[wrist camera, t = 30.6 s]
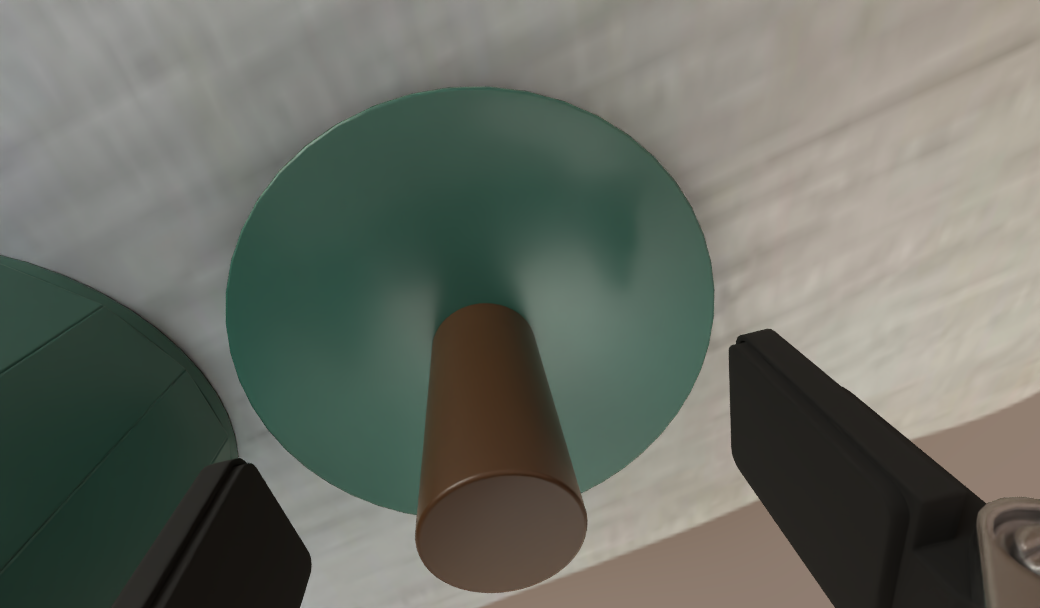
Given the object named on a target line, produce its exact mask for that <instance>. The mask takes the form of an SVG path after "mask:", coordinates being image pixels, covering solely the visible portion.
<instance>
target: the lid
mask: <svg viewBox="0 0 1040 608" xmlns="http://www.w3.org/2000/svg"><path fill="white" fill-rule="evenodd" d="M713 318H714V283H713V274H712V266H711V260H710V256H709V253H708V249H707V245H706V241H705V238H704V234H703V232H702V229H701V227H700V225H699V223H698V220H697V218H696V216H695V213H694V211H693V209H692V207H691V205H690V204H689V202H688V200H687V199H686V197H685V196H684V194H683V193H682V191H681V189H680V188H679V186H678V185H677V183H676V181H675V180H674V179H673V178H672V177H671V176H670V174H669V173H668V172H667V171H666V170H665V169H664V168H663V166H662V165H661V164H660V163H659V162H658V161H657V159H656V158H655V157H654V156H653V155H652V154H650V153H649V152H648V151H647V150H646V149H645V148H643V147H642V146H641V145H640V144H639V143H637V142H636V141H635V140H634V139H633V138H632V137H630V136H629V135H628V134H626V133H625V132H623V131H622V130H620V129H618V128H617V127H615V126H613V125H612V124H610V123H609V122H607V121H605V120H604V119H602V118H601V117H599V116H597V115H595V114H592V113H590V112H588V111H586V110H583V109H581V108H579V107H576V106H574V105H572V104H569V103H567V102H565V101H561V100H558V99H554V98H550V97H546V96H543V95H539V94H535V93H531V92H528V91H523V90H514V89H506V88H498V87H489V86H479V87H448V88H442V89H436V90H430V91H424V92H418V93H412V94H409V95H406V96H403V97H400V98H396V99H393V100H390V101H387V102H384V103H381V104H378V105H375V106H372V107H370V108H368V109H366V110H364V111H362V112H360V113H358V114H356V115H354V116H352V117H350V118H348V119H346V120H344V121H342V122H340V123H338V124H336V125H335V126H333V127H332V128H331V129H329V130H328V131H326V132H325V133H323V134H322V135H320V136H319V137H318V138H316V139H315V140H313V141H312V142H310V143H309V144H308V145H306V146H305V147H304V148H303V149H302V150H301V151H300V152H299V153H298V154H297V155H296V156H295V157H294V158H292V159H291V160H290V161H289V162H288V163H287V164H286V165H285V166H284V167H283V168H282V169H281V170H280V171H279V172H278V173H277V175H276V176H275V177H274V179H273V180H272V181H271V183H270V184H269V185H268V187H267V188H266V189H265V191H264V192H263V193H262V194H261V196H260V197H259V198H258V200H257V202H256V204H255V205H254V207H253V209H252V211H251V213H250V215H249V217H248V219H247V220H246V222H245V224H244V226H243V228H242V230H241V233H240V236H239V239H238V242H237V245H236V248H235V251H234V254H233V256H232V259H231V264H230V270H229V276H228V282H227V288H226V328H227V334H228V340H229V347H230V353H231V356H232V359H233V362H234V365H235V369H236V372H237V375H238V378H239V381H240V383H241V385H242V387H243V389H244V391H245V393H246V395H247V397H248V399H249V401H250V403H251V405H252V407H253V409H254V410H255V411H256V413H257V414H258V416H259V417H260V419H261V420H262V422H263V423H264V425H265V426H266V428H267V429H268V430H269V431H270V432H271V434H272V435H273V436H274V437H275V438H276V439H277V440H278V441H279V443H280V444H281V445H282V446H283V447H284V448H285V449H286V450H287V451H288V452H289V453H290V454H291V455H293V456H294V457H295V458H296V459H297V460H298V461H299V462H301V463H302V464H303V465H304V466H305V467H306V468H308V469H309V470H311V471H312V472H314V473H315V474H316V475H318V476H319V477H321V478H322V479H324V480H325V481H327V482H328V483H330V484H332V485H334V486H336V487H337V488H339V489H341V490H343V491H345V492H347V493H349V494H351V495H353V496H355V497H358V498H360V499H363V500H365V501H368V502H370V503H373V504H375V505H378V506H381V507H385V508H388V509H392V510H396V511H399V512H403V513H408V514H414V515H417V519H416V530H415V542H416V548H417V551H418V553H419V556H420V558H421V560H422V562H423V563H424V565H425V566H426V567H427V569H428V570H429V571H430V572H431V573H432V574H434V575H435V576H436V577H437V578H439V579H440V580H442V581H443V582H445V583H447V584H449V585H452V586H454V587H457V588H460V589H464V590H468V591H473V592H481V593H501V592H509V591H515V590H519V589H523V588H527V587H530V586H533V585H535V584H538V583H540V582H542V581H544V580H546V579H548V578H550V577H552V576H553V575H555V574H556V573H558V572H559V571H560V570H562V569H563V568H564V567H565V566H566V565H568V564H569V563H570V562H571V561H572V559H573V558H574V557H575V556H576V554H577V553H578V551H579V550H580V548H581V546H582V544H583V541H584V539H585V535H586V531H587V513H586V509H585V506H584V503H583V499H582V496H581V493H583V492H585V491H587V490H588V489H590V488H592V487H594V486H596V485H598V484H600V483H602V482H603V481H605V480H606V479H608V478H610V477H611V476H613V475H614V474H616V473H617V472H619V471H620V470H622V469H623V468H624V467H626V466H627V465H628V464H629V463H631V462H632V461H633V460H634V459H635V458H637V457H638V456H639V455H640V454H642V453H643V452H644V451H645V450H646V449H647V448H648V447H649V446H650V445H651V444H652V443H653V442H654V441H655V440H656V439H657V438H658V437H659V436H660V435H661V434H662V432H663V431H664V430H665V429H666V427H667V426H668V425H669V423H670V422H671V421H672V420H673V418H674V417H675V416H676V415H677V413H678V412H679V410H680V408H681V407H682V405H683V403H684V402H685V400H686V399H687V397H688V395H689V394H690V392H691V390H692V388H693V386H694V383H695V381H696V379H697V377H698V375H699V373H700V370H701V368H702V365H703V362H704V358H705V355H706V352H707V349H708V346H709V341H710V335H711V330H712V324H713Z"/></svg>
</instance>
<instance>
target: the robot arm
mask: <svg viewBox="0 0 1040 608" xmlns="http://www.w3.org/2000/svg"><path fill="white" fill-rule="evenodd" d="M729 380H730V416H731V449H732V455H733V458H734V461H735V463H736V465H737V467H738V469H739V470H740V472H741V473H742V475H743V476H744V477H745V479H746V480H747V482H748V483H749V485H750V486H751V487H752V489H753V490H754V492H755V493H756V495H757V496H758V498H759V499H760V500H761V502H762V503H763V505H764V506H765V507H766V509H767V510H768V512H769V513H770V515H771V516H772V518H773V519H774V521H775V522H776V523H777V525H778V526H779V528H780V529H781V531H782V532H783V534H784V535H785V536H786V538H787V539H788V541H789V542H790V544H791V545H792V546H793V548H794V549H795V551H796V552H797V553H798V555H799V556H800V558H801V559H802V561H803V562H804V564H805V565H806V567H807V568H808V569H809V571H810V572H811V574H812V575H813V577H814V578H815V580H816V581H817V582H818V584H819V585H820V587H821V588H822V590H823V591H824V592H825V594H826V595H827V597H828V598H829V599H830V601H831V603H832V604H833V605H834V607H835V608H1040V499H1033V498H1027V497H1010V498H1000V499H998V500H995V501H992V502H989V503H987V504H986V503H985V502H984V501H983V500H981V499H980V498H979V497H978V496H977V495H975V494H974V493H973V492H972V491H970V490H969V489H968V488H967V487H966V486H964V485H963V484H962V483H961V482H960V481H958V480H957V479H956V478H955V477H953V476H952V475H951V474H950V473H949V472H947V471H946V470H945V469H944V468H943V467H941V466H940V465H939V464H938V463H936V462H935V461H934V460H933V459H932V458H930V457H929V456H928V455H927V454H926V453H924V452H923V451H922V450H921V449H919V448H918V447H917V446H916V445H915V444H913V443H912V442H911V441H910V440H909V439H907V438H906V437H905V436H904V435H902V434H901V433H900V432H899V431H898V430H896V429H895V428H894V427H893V426H892V425H890V424H889V423H888V422H887V421H885V420H884V419H883V418H882V417H881V416H879V415H878V414H877V413H876V412H875V411H873V410H872V409H871V408H870V407H868V406H867V405H866V404H865V403H864V402H862V401H861V400H860V399H859V398H858V397H856V396H855V395H854V394H853V393H851V392H850V391H848V390H847V389H845V388H844V387H841V386H840V385H839V384H838V383H836V382H835V381H834V380H833V379H832V378H830V377H829V376H828V375H827V374H826V373H824V372H823V371H822V370H821V369H820V368H818V367H817V366H816V365H815V364H814V363H812V362H811V361H810V360H809V359H808V358H806V357H805V356H804V355H803V354H802V353H800V352H799V351H798V350H797V349H795V348H794V347H793V346H792V345H791V344H789V343H788V342H787V341H786V340H785V339H783V338H782V337H781V336H780V335H779V334H777V333H776V332H775V331H773V330H772V329H764V330H760V331H756V332H752V333H748V334H744V335H740V336H739V337H738V338H737V340H736V344H735V345H732V346H730V348H729ZM311 565H312V564H311V557H310V554H309V552H308V550H307V548H306V547H305V545H304V543H303V542H302V540H301V539H300V537H299V535H298V534H297V532H296V531H295V529H294V527H293V526H292V524H291V523H290V521H289V519H288V518H287V516H286V515H285V513H284V511H283V510H282V508H281V506H280V505H279V503H278V502H277V500H276V498H275V497H274V495H273V494H272V492H271V490H270V489H269V487H268V486H267V484H266V482H265V481H264V479H263V478H262V476H261V474H260V473H259V471H258V469H257V468H256V467H255V466H254V465H253V464H251V463H246V462H245V461H244V460H243V459H241V458H235V459H231V460H227V461H223V462H219V463H214V464H210V465H208V466H206V467H204V468H203V469H202V470H201V471H200V473H199V474H198V476H197V477H196V479H195V480H194V482H193V484H192V485H191V487H190V488H189V490H188V491H187V493H186V494H185V496H184V497H183V499H182V500H181V502H180V503H179V505H178V506H177V508H176V509H175V511H174V512H173V514H172V515H171V517H170V518H169V520H168V521H167V523H166V524H165V526H164V527H163V529H162V530H161V532H160V534H159V535H158V537H157V538H156V540H155V541H154V543H153V544H152V546H151V547H150V549H149V550H148V552H147V553H146V555H145V556H144V558H143V559H142V561H141V562H140V564H139V565H138V567H137V568H136V570H135V571H134V573H133V574H132V576H131V577H130V579H129V580H128V582H127V584H126V585H125V587H124V588H123V590H122V591H121V593H120V594H119V596H118V597H117V599H116V600H115V602H114V603H113V605H112V606H111V608H300V606H301V603H302V599H303V596H304V593H305V590H306V586H307V583H308V580H309V577H310V573H311Z"/></svg>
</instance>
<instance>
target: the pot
mask: <svg viewBox="0 0 1040 608" xmlns="http://www.w3.org/2000/svg"><path fill="white" fill-rule="evenodd" d="M235 458H238V452H237V446H236V440H235V435H234V432H233V429H232V426H231V423H230V420H229V418H228V415H227V413H226V411H225V409H224V407H223V405H222V403H221V401H220V399H219V398H218V396H217V394H216V392H215V391H214V389H213V388H212V387H211V385H210V384H209V382H208V381H207V380H206V378H205V377H204V375H203V374H202V373H201V371H200V370H199V369H198V368H197V367H196V366H195V365H194V364H193V362H192V361H191V360H190V359H189V358H188V357H187V356H186V355H185V354H184V353H183V352H182V350H180V349H179V348H178V347H177V346H176V345H175V344H174V343H173V342H171V341H170V340H169V339H168V338H167V337H166V336H165V335H163V334H162V333H161V332H160V331H159V330H158V329H156V328H155V327H154V326H152V325H151V324H149V323H148V322H147V321H145V320H144V319H142V318H141V317H139V316H138V315H137V314H135V313H134V312H132V311H131V310H130V309H128V308H126V307H124V306H123V305H121V304H119V303H118V302H116V301H114V300H112V299H111V298H109V297H107V296H105V295H104V294H102V293H100V292H99V291H96V290H94V289H92V288H90V287H88V286H86V285H83V284H81V283H79V282H77V281H75V280H73V279H70V278H68V277H66V276H64V275H61V274H58V273H56V272H53V271H50V270H47V269H44V268H42V267H39V266H36V265H33V264H30V263H28V262H24V261H20V260H16V259H12V258H8V257H5V256H1V255H0V608H111V606H112V605H113V603H114V602H115V600H116V599H117V597H118V596H119V594H120V593H121V591H122V590H123V588H124V587H125V585H126V584H127V582H128V580H129V579H130V577H131V576H132V574H133V573H134V571H135V570H136V568H137V567H138V565H139V564H140V562H141V561H142V559H143V558H144V556H145V555H146V553H147V552H148V550H149V549H150V547H151V546H152V544H153V543H154V541H155V540H156V538H157V537H158V535H159V534H160V532H161V530H162V529H163V527H164V526H165V524H166V523H167V521H168V520H169V518H170V517H171V515H172V514H173V512H174V511H175V509H176V508H177V506H178V505H179V503H180V502H181V500H182V499H183V497H184V496H185V494H186V493H187V491H188V490H189V488H190V487H191V485H192V484H193V482H194V480H195V479H196V477H197V476H198V474H199V473H200V471H201V470H202V469H203V468H204V467H206V466H208V465H210V464H214V463H219V462H223V461H227V460H231V459H235Z"/></svg>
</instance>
